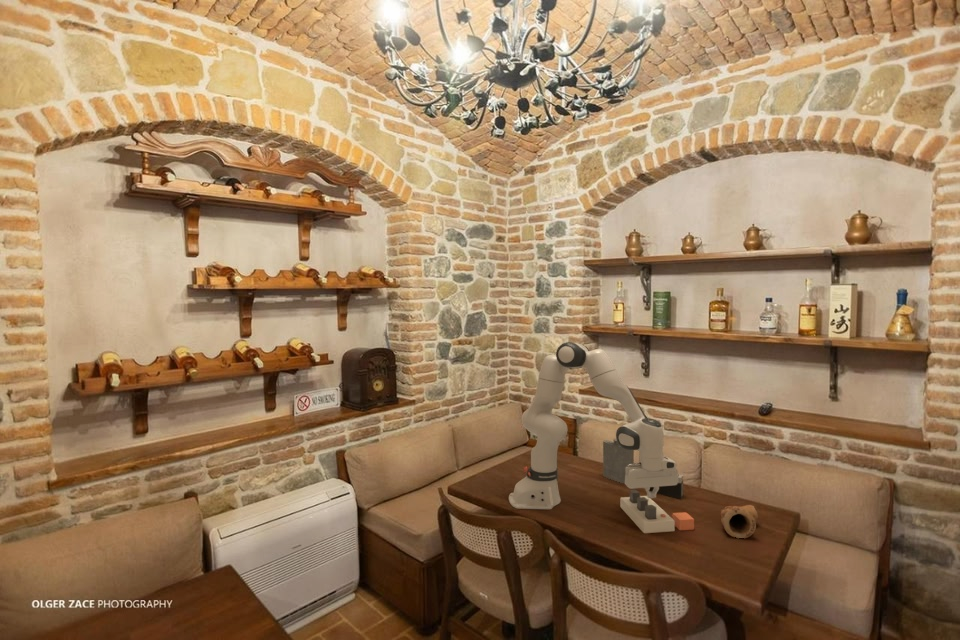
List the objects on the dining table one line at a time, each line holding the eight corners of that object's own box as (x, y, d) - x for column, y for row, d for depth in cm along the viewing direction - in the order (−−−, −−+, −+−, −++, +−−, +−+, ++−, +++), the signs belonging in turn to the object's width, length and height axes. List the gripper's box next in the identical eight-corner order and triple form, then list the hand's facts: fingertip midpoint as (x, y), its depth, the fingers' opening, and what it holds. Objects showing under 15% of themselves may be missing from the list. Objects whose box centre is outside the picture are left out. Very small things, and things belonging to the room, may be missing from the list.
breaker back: (632, 504, 192) (632, 493, 192) (629, 500, 195) (629, 490, 195) (639, 503, 193) (639, 492, 192) (636, 500, 196) (636, 489, 195)
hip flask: (634, 483, 221) (635, 442, 220) (630, 486, 218) (630, 444, 217) (605, 474, 233) (605, 434, 232) (600, 476, 230) (600, 436, 229)
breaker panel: (644, 533, 176) (644, 521, 176) (620, 506, 198) (620, 496, 197) (674, 531, 177) (674, 519, 177) (647, 505, 199) (647, 494, 199)
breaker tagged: (648, 520, 178) (648, 508, 178) (645, 516, 181) (645, 505, 181) (656, 519, 179) (656, 508, 179) (652, 516, 182) (652, 504, 182)
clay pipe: (708, 535, 181) (735, 542, 167) (702, 505, 184) (728, 510, 169) (751, 528, 185) (781, 535, 170) (744, 499, 187) (773, 503, 173)
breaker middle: (640, 511, 185) (640, 500, 185) (637, 508, 188) (637, 497, 188) (647, 511, 186) (647, 500, 185) (644, 508, 189) (644, 497, 188)
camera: (686, 493, 210) (686, 471, 209) (680, 499, 204) (680, 477, 203) (654, 485, 219) (654, 464, 218) (648, 491, 213) (648, 469, 212)
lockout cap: (679, 530, 178) (679, 520, 177) (671, 523, 183) (672, 513, 183) (693, 529, 178) (694, 519, 178) (685, 522, 184) (685, 512, 184)
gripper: (628, 467, 175) (629, 503, 176) (680, 463, 177) (680, 498, 178) (621, 460, 181) (622, 495, 182) (671, 457, 184) (671, 491, 185)
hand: (651, 497), depth 180 cm, fingers closed
